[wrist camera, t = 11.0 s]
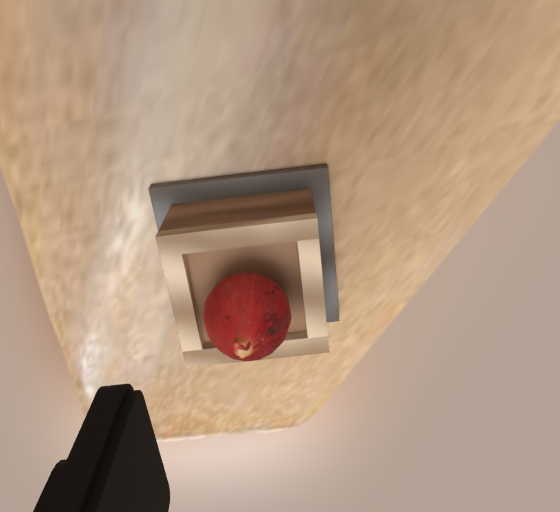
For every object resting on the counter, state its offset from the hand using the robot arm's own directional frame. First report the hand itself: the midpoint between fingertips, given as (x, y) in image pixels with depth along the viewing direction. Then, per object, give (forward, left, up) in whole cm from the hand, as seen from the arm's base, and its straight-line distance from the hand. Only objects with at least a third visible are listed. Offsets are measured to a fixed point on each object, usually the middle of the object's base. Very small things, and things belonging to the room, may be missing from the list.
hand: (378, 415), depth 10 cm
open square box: (+11, -5, -32) cm, 34 cm away
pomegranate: (+11, -5, -26) cm, 29 cm away
